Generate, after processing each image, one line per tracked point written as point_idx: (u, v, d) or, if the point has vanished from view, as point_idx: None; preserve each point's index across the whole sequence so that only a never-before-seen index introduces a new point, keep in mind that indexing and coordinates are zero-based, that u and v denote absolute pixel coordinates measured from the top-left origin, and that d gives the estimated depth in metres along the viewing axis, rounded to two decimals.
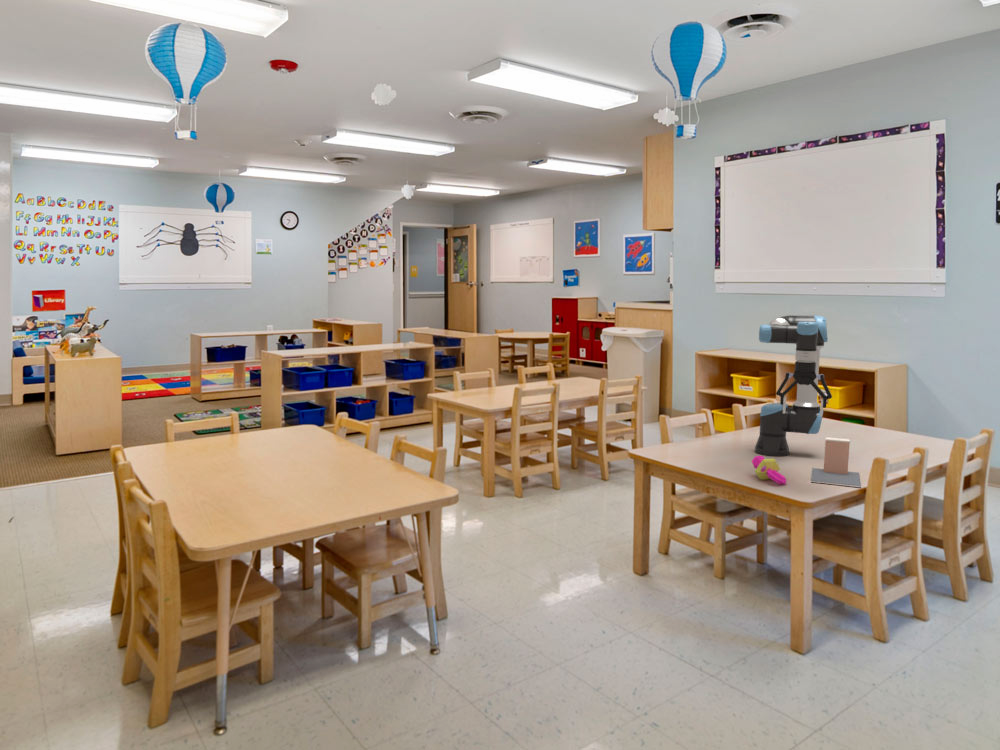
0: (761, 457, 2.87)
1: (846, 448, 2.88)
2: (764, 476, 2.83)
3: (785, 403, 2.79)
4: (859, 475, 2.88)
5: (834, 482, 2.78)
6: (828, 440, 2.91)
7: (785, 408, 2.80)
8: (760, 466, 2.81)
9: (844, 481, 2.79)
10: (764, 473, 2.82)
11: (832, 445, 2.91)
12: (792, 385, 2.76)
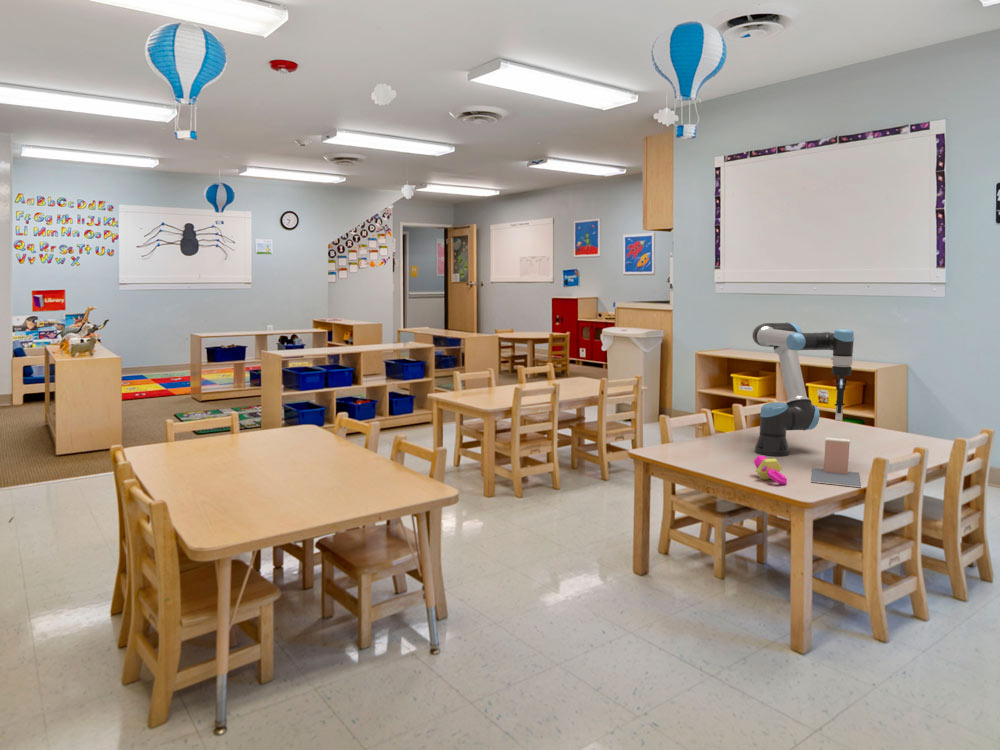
0: (763, 457, 2.88)
1: (846, 448, 2.88)
2: (765, 476, 2.83)
3: None
4: (859, 475, 2.88)
5: (834, 482, 2.78)
6: (828, 440, 2.91)
7: None
8: (761, 466, 2.82)
9: (844, 481, 2.79)
10: (765, 473, 2.82)
11: (832, 445, 2.91)
12: None
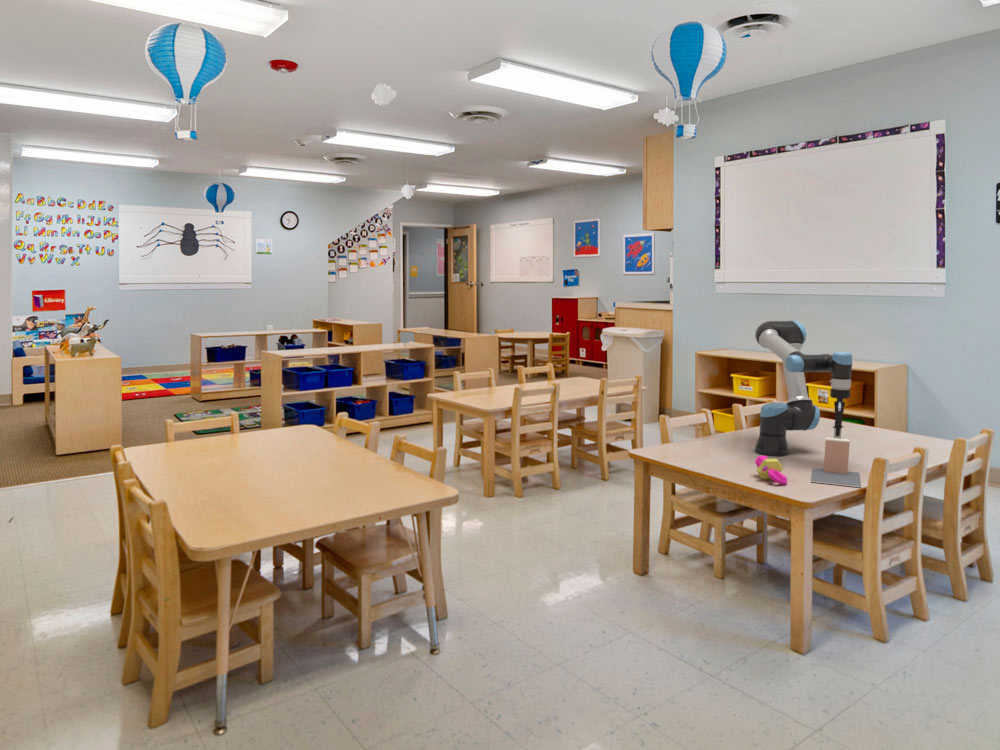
0: (764, 457, 2.88)
1: (846, 448, 2.88)
2: (766, 476, 2.83)
3: None
4: (859, 475, 2.88)
5: (834, 482, 2.78)
6: (828, 440, 2.91)
7: None
8: (761, 466, 2.82)
9: (844, 481, 2.79)
10: (766, 473, 2.82)
11: (832, 445, 2.91)
12: None
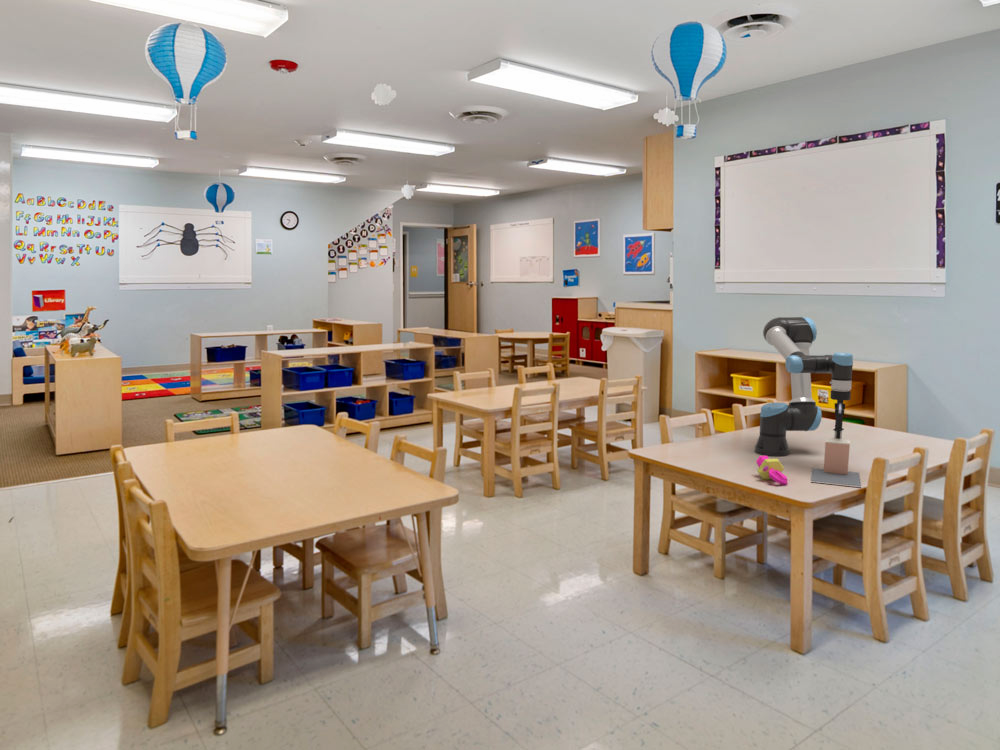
0: (765, 457, 2.88)
1: (846, 449, 2.86)
2: (767, 476, 2.83)
3: None
4: (859, 475, 2.88)
5: (834, 482, 2.78)
6: (828, 442, 2.89)
7: None
8: (762, 466, 2.82)
9: (844, 481, 2.79)
10: (766, 473, 2.82)
11: (832, 447, 2.88)
12: None
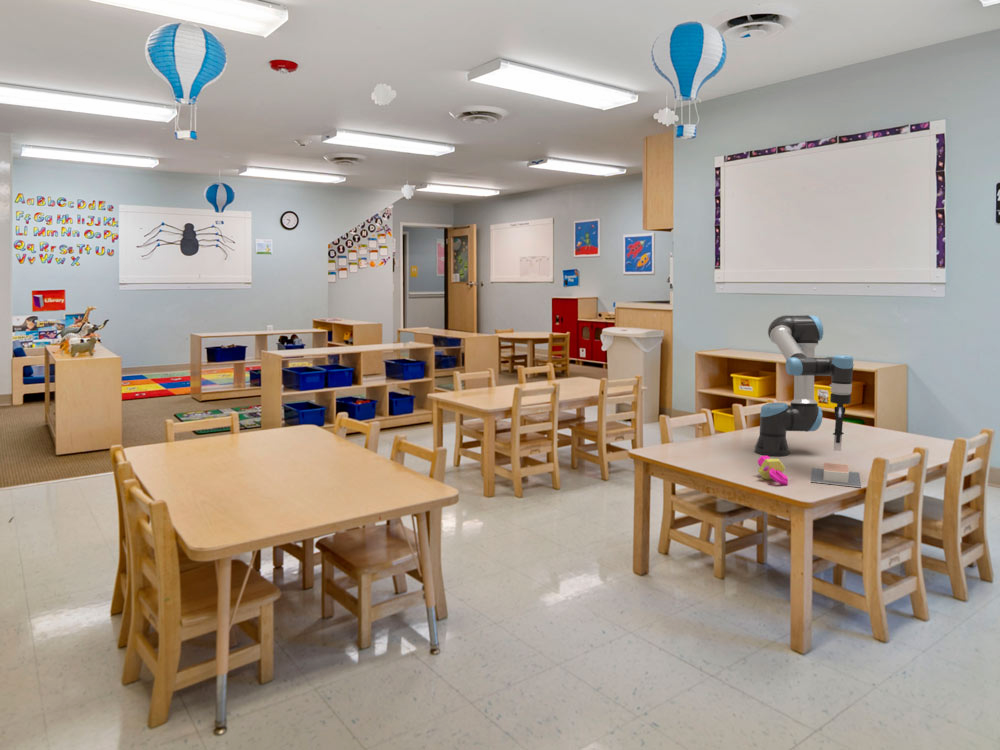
0: (767, 457, 2.88)
1: None
2: (768, 476, 2.83)
3: None
4: (859, 475, 2.88)
5: (834, 482, 2.78)
6: None
7: None
8: (763, 466, 2.82)
9: None
10: (767, 473, 2.82)
11: None
12: None
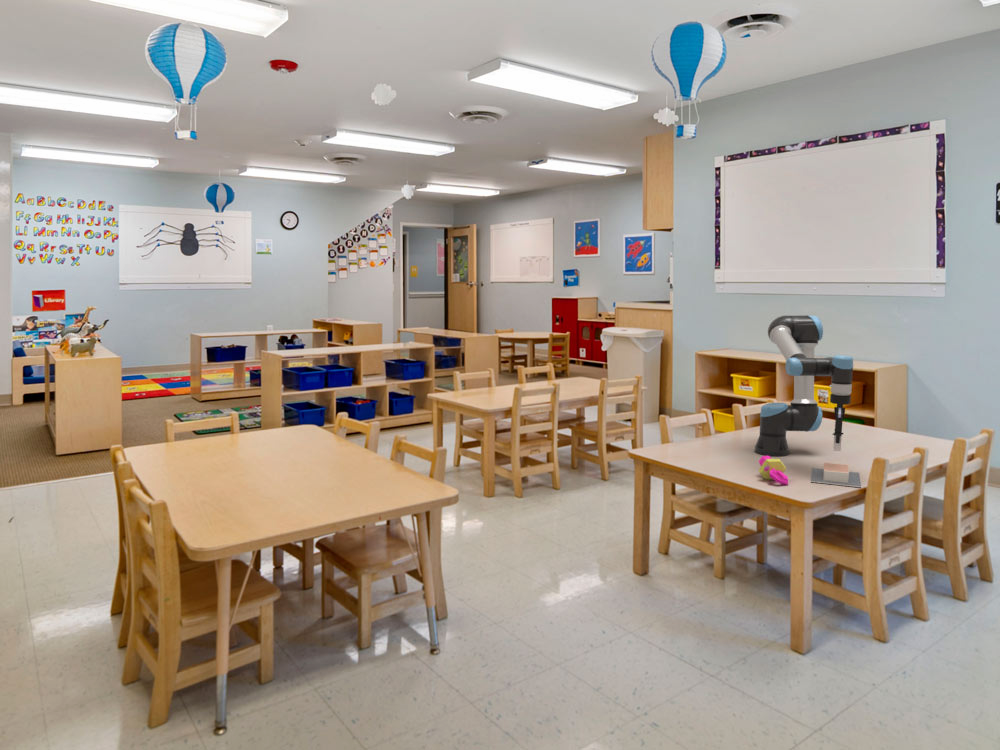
0: (768, 457, 2.88)
1: None
2: (768, 476, 2.84)
3: None
4: (859, 475, 2.88)
5: (834, 482, 2.78)
6: None
7: None
8: (763, 465, 2.82)
9: None
10: (768, 473, 2.82)
11: None
12: None
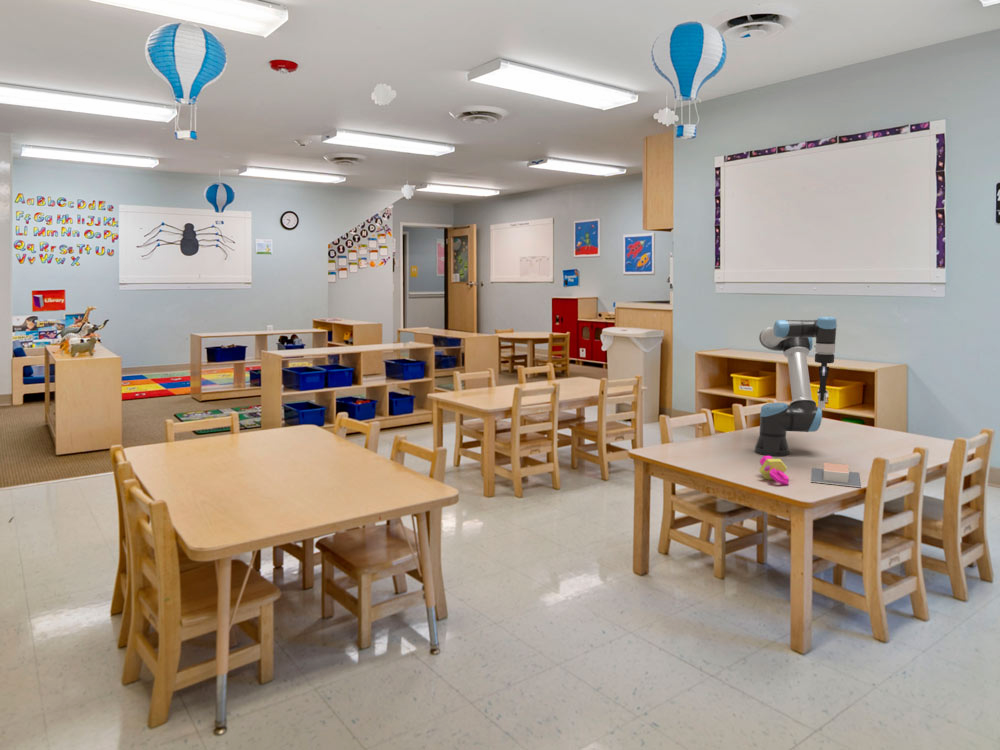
0: (769, 457, 2.88)
1: None
2: (769, 476, 2.84)
3: None
4: (859, 475, 2.88)
5: (834, 482, 2.78)
6: None
7: None
8: (764, 465, 2.82)
9: None
10: (768, 473, 2.83)
11: None
12: None
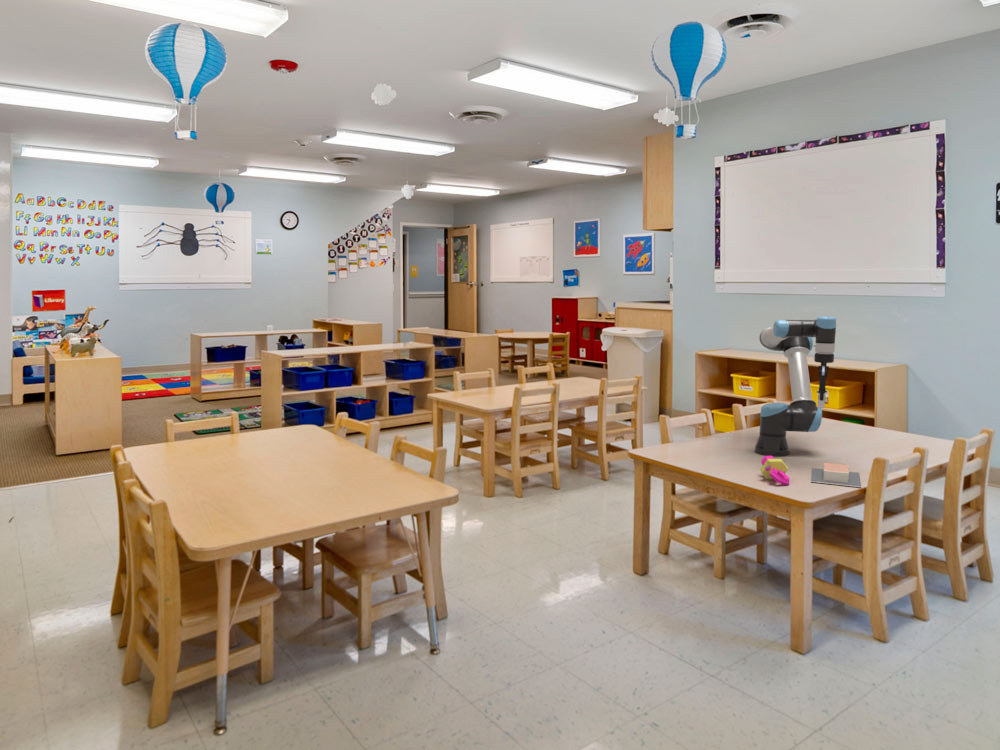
0: (770, 457, 2.88)
1: None
2: (770, 476, 2.84)
3: None
4: (859, 475, 2.88)
5: (834, 482, 2.78)
6: None
7: None
8: (765, 465, 2.83)
9: None
10: (769, 473, 2.83)
11: None
12: None
